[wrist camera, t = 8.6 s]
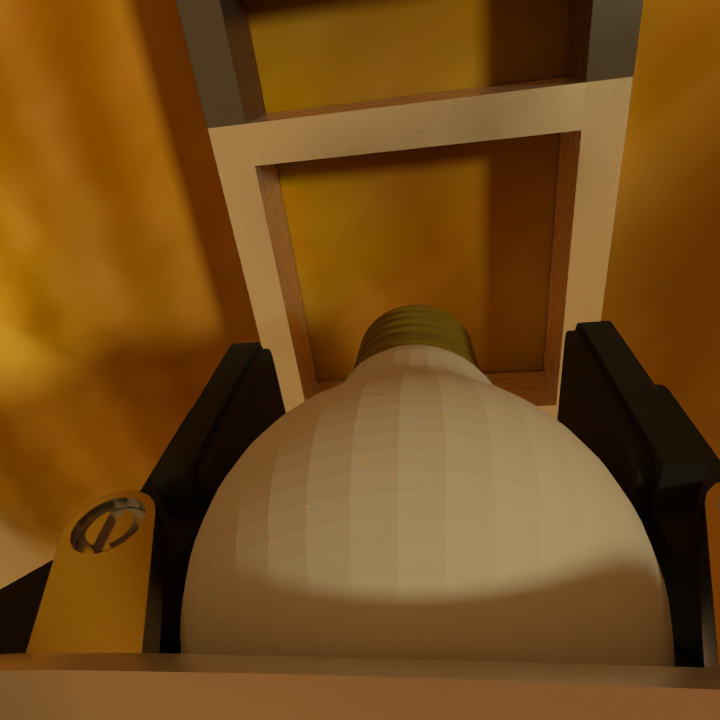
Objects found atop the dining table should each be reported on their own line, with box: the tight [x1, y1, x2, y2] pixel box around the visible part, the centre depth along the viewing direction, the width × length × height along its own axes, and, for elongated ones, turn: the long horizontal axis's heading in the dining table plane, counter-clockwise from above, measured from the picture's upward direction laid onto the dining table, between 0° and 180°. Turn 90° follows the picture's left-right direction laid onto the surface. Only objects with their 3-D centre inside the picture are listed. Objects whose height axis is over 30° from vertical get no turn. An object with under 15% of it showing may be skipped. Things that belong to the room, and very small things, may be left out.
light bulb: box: [180, 305, 675, 667], centre depth 9 cm, size 6×6×10 cm
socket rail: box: [176, 0, 643, 420], centre depth 12 cm, size 10×23×2 cm, turn 7°
